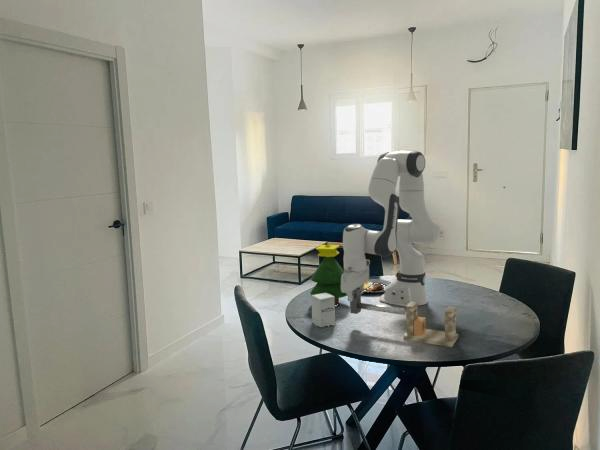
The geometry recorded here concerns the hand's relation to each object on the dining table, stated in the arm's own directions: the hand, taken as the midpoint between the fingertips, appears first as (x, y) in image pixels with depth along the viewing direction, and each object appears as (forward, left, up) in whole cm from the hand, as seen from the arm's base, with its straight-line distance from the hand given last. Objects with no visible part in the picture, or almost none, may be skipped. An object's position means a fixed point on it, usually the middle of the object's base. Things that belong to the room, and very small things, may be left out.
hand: (355, 297), depth 192 cm
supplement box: (-13, -4, -12) cm, 19 cm away
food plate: (-15, +52, -13) cm, 55 cm away
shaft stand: (+31, 0, -12) cm, 33 cm away
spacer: (+27, 0, -11) cm, 29 cm away
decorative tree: (-22, +20, -12) cm, 32 cm away
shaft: (+9, 0, -6) cm, 11 cm away
